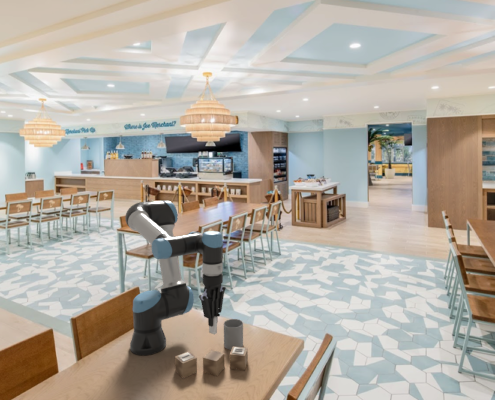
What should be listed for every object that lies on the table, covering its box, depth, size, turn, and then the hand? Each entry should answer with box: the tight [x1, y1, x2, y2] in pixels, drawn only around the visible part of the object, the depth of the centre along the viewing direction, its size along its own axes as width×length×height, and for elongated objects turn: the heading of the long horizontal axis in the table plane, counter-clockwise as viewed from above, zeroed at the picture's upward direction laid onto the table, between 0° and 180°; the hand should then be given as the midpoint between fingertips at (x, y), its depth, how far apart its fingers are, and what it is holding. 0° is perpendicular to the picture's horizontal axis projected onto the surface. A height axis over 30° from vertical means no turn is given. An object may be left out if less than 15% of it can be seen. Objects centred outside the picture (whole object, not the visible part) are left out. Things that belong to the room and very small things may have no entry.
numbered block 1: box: [174, 350, 198, 379], centre depth 131 cm, size 6×6×6 cm
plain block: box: [202, 349, 226, 377], centre depth 132 cm, size 6×6×6 cm
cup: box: [223, 318, 244, 351], centre depth 150 cm, size 8×8×10 cm
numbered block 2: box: [229, 346, 249, 371], centre depth 135 cm, size 6×6×6 cm
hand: (213, 332), depth 131 cm, fingers closed
